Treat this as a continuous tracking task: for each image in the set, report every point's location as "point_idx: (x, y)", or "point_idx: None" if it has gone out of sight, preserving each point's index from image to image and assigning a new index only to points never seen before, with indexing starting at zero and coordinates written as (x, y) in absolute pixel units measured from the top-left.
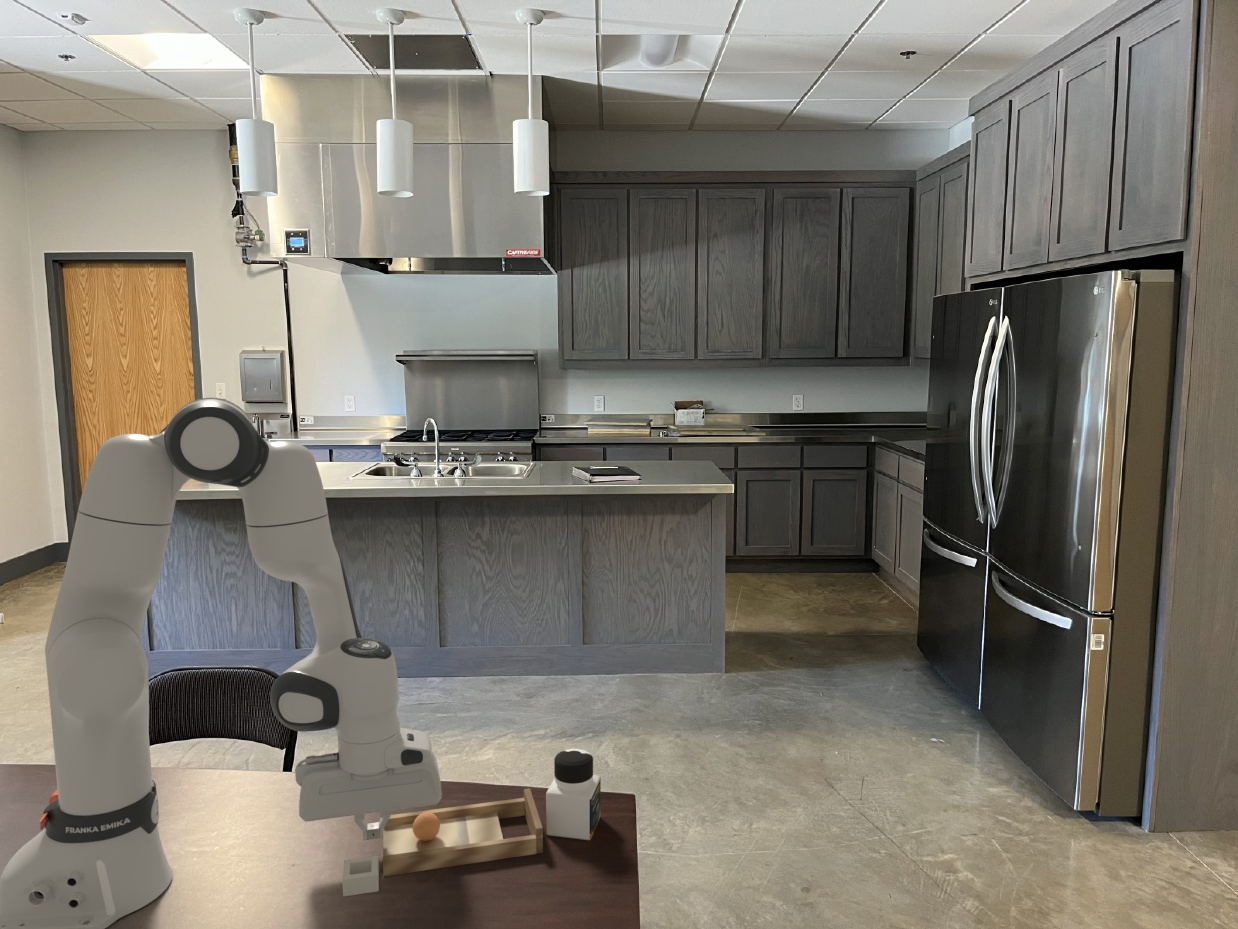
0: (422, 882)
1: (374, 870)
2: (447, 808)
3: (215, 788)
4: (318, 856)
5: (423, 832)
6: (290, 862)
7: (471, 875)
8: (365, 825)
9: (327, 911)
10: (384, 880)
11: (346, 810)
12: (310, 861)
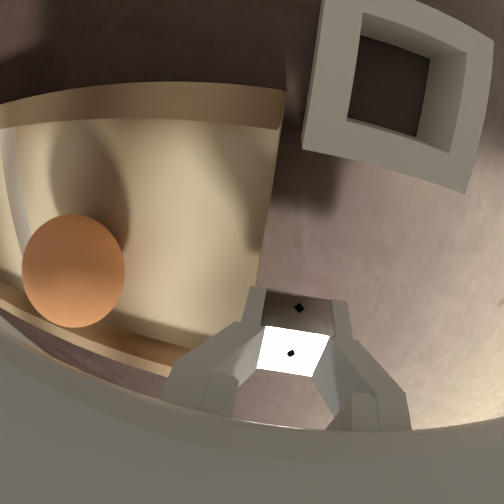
0: (142, 14)
1: (344, 15)
2: (59, 335)
3: None
4: (447, 315)
5: (68, 229)
6: (500, 313)
7: (24, 45)
8: (334, 364)
9: (495, 13)
10: (286, 64)
11: (481, 462)
12: (471, 301)
